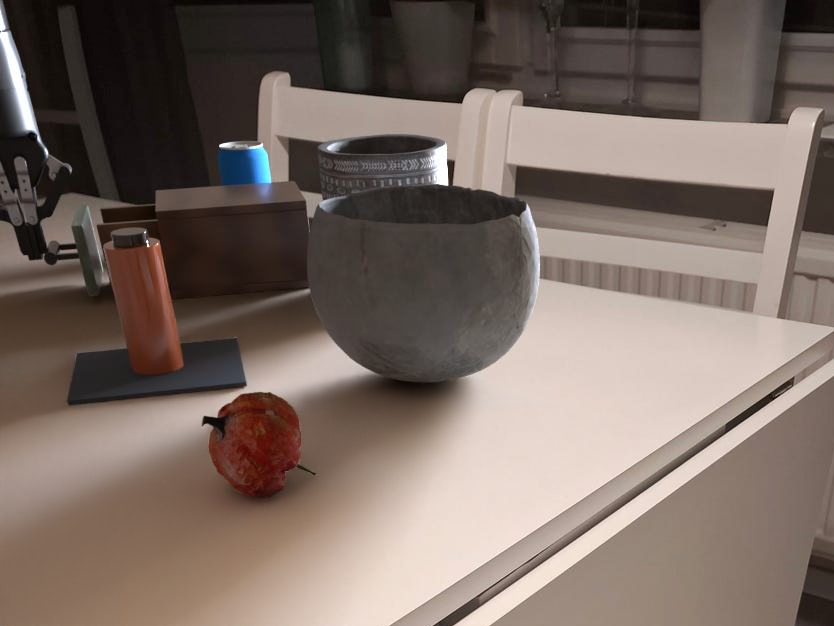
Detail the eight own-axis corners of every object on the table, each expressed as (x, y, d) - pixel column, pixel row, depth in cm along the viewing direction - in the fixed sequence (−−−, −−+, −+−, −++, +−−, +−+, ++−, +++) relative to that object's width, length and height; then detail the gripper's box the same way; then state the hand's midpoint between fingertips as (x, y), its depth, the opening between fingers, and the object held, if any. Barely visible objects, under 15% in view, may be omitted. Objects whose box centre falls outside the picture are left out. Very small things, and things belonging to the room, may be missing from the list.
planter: (354, 311, 112) (339, 159, 103) (317, 281, 122) (301, 140, 113) (470, 294, 116) (467, 147, 107) (425, 266, 126) (418, 130, 117)
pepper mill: (131, 377, 95) (98, 239, 87) (132, 360, 99) (101, 227, 91) (185, 372, 96) (157, 235, 88) (183, 355, 100) (157, 223, 92)
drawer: (51, 299, 115) (32, 229, 110) (58, 274, 124) (41, 208, 119) (225, 284, 118) (214, 215, 114) (221, 261, 127) (210, 196, 123)
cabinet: (172, 299, 117) (155, 211, 112) (171, 272, 127) (155, 190, 121) (316, 286, 120) (306, 200, 115) (304, 261, 130) (294, 180, 124)
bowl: (495, 425, 85) (493, 231, 75) (281, 399, 90) (255, 216, 81) (564, 350, 100) (569, 181, 90) (377, 332, 105) (364, 171, 96)
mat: (68, 405, 91) (66, 400, 90) (77, 356, 101) (76, 352, 101) (247, 386, 93) (246, 381, 93) (237, 341, 104) (237, 337, 104)
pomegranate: (282, 488, 81) (167, 434, 75) (330, 412, 78) (215, 349, 72) (304, 536, 76) (184, 483, 70) (356, 457, 73) (236, 394, 67)
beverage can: (275, 237, 141) (261, 139, 134) (282, 247, 136) (269, 146, 129) (228, 241, 140) (212, 142, 132) (235, 251, 135) (218, 150, 127)
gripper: (-85, 90, 102) (-28, 271, 113) (50, 83, 105) (94, 261, 115) (-72, 83, 108) (-19, 256, 119) (56, 76, 110) (97, 246, 121)
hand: (36, 258), depth 117 cm, fingers closed
